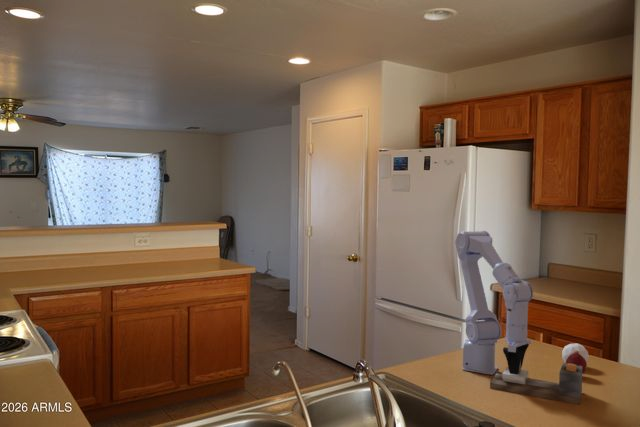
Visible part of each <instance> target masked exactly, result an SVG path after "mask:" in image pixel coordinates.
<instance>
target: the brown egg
mask: <svg viewBox="0 0 640 427" xmlns="http://www.w3.org/2000/svg"><path fill="white" fill-rule="evenodd" d="M565 364H566V363H565ZM576 369H577V365H575V364H570V363H568V364H566V370H568V371H574V372H576Z"/></svg>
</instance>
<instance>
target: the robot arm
mask: <svg viewBox="0 0 640 427" xmlns="http://www.w3.org/2000/svg"><path fill="white" fill-rule="evenodd" d="M454 242H455V247H456V248H455V249H456V252H457V253H456V254H457V257H458V259H459V263H460V266H461V272H462V275H463V279H464V285H465V289H466V294H467V297H468V302H469V308H470V313H469V314H468V315H467V317H466V318H465V319H464V321H465V335H466V337H467V339H465V340H464V343H463V348H462V368H461V370H463V371H466V372H467V371H468V372H473V373H474V372H475V373H479V374H485V375H488V376H489V375H491V376H493V375H495V374H496V373H495V372H497V370H498V369H499V367H498V366H497V365H496V364H495V363H496V361H495V360H496V343H498V340H499V339H500V338H501V336H502V332H503V331H502V326H501V324H500V322H499V321H498V318H497V314H495V313H494V312H492V311H491V310H489V307H488V303H487V297H486V293H485V289H484V285H483V281H482V277H481V271H480V268H479V262H478V261H479V260H480V259H481V258H483V259H484V260H485V261H486V262H487V264H488V265H489V266H490V267H491V268H492V276H493V278H494V279H495V280H496V281H497V283H498V285H499V286H500V287H501V288H502V297H503V299H504V306H505V308H506V323H505V324H506V325H505V338H504V341H505V343H506V344H507V347H506V346H505V347H503V348H502V351H503V354H504V356H505V358H506V362H507V367H508V368H509V372H510V374H516V375H517V374H518V371H519V366H520V361H521V368H522V367H523V363H524V358H525V355H526V352H527V349H528V348H529V346H530V345H532V340H529V339H528V321H529V320H528V319H529V318H528V317H529V314H528V313H529V302H530V301H531V300H532V299H533V296H534V290H533V287H532V285H531V283H530V282H528V281H524V280H523V279H521V278H520V277H519V275H518V274H517V273H516V271H515V270H514V269H513V267H512V265H511V264H509V263H507V262H503V260H502V259H501V256H499V253H498V252H497V251H496V249H495V247H494V246H493V237H492V236H491V234H490V233H489V232H488V231H486V230H481V231H479V230H477V231H476V230H475V231H464V230H461V231H458V233H457V235H456V238H455V241H454Z"/></svg>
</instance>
